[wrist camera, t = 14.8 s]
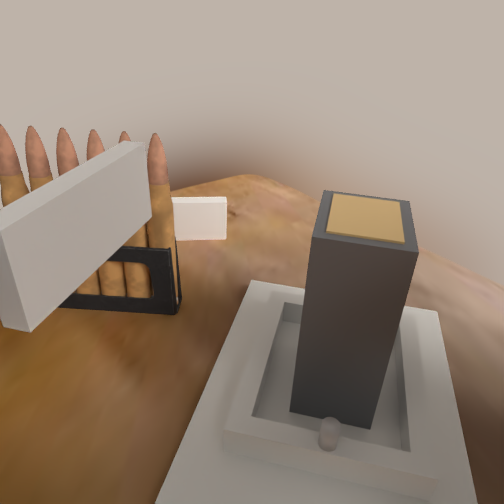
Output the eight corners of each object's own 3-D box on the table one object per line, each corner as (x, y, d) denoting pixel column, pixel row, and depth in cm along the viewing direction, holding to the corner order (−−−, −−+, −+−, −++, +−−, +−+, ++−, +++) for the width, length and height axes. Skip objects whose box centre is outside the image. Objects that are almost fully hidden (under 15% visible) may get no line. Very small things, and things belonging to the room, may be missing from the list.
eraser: (171, 234, 40) (169, 196, 38) (225, 233, 40) (226, 196, 38) (170, 241, 39) (169, 202, 37) (226, 240, 39) (227, 202, 37)
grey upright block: (370, 359, 26) (409, 199, 21) (370, 429, 21) (419, 250, 16) (302, 345, 26) (323, 188, 21) (289, 411, 22) (312, 234, 17)
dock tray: (434, 320, 30) (447, 278, 29) (490, 607, 16) (525, 557, 14) (251, 288, 33) (253, 247, 31) (156, 514, 18) (150, 461, 17)
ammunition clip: (182, 299, 31) (175, 129, 25) (177, 315, 30) (168, 138, 24) (33, 289, 31) (-9, 119, 25) (20, 305, 30) (-28, 127, 24)
